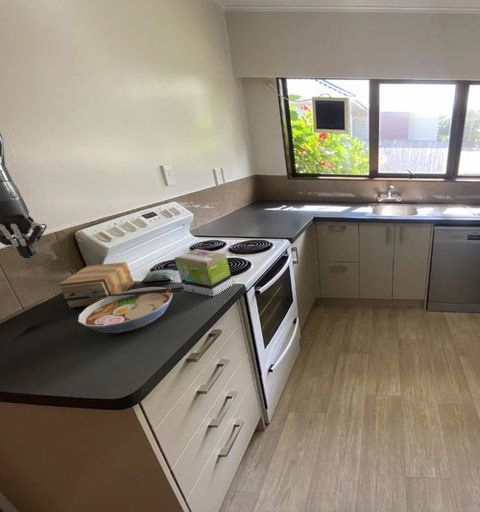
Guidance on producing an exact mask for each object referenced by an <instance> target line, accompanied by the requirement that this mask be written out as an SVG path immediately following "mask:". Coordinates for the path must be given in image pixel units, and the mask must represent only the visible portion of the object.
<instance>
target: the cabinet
mask: <svg viewBox="0 0 480 512" xmlns="http://www.w3.org/2000/svg"><path fill="white" fill-rule="evenodd" d="M99 281H104V284H105V286H106V289H107V291H108V293H109V296H111V294H118V293H122V292H126V291H129V289H131V287H132V286H133V285H134V284H135V281H134V278H133V276H132V274H131V270H130V268H129V266H128V262H127V261H123V262H113V263H103V264H93V265H86V266H85V267H83V268H81V269H80V270H79V271H77V272H76V273H74V274H72V275H70V276H69V277H68V278H66V279H64V280H63V281H61V282H59V286H60V287H62V286H66V285H72V284H81V283H90V282H99ZM91 305H92V304H90V305H82V306H75V307H70V308H79V307H80V308H81V307H89V306H91Z"/></svg>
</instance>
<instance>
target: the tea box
mask: <svg viewBox="0 0 480 512" xmlns="http://www.w3.org/2000/svg"><path fill="white" fill-rule="evenodd" d="M174 262H175V265H176V269H177V271H178V272H179V274H178V276H179V278H180V281H181V286H182V287H184V289H183V290H184V292H189V293H192V294H198V295H202V296H207V295H208V297H211V296H213V297H212V298H215V297H216V296H215V295H217V294H218V295H220V294H222V293H223V292H225V291H227V290H228V289H230V288H231V287H233V286H232V285H234V284H233V279H232V275H231V271H230V266H229V262H228V256H227V253H225V252H220V251H212V250H207V249H199V248H195V249H192V250H190V251H188V252H185V253H183V254H180V255H178V256H175V257H174ZM230 286H231V287H230ZM229 287H230V288H229ZM227 288H228V289H227ZM226 289H227V290H226ZM224 290H225V291H224ZM222 291H223V292H222ZM221 292H222V293H221ZM219 293H220V294H219ZM218 295H217V296H218ZM214 296H215V297H214Z"/></svg>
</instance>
